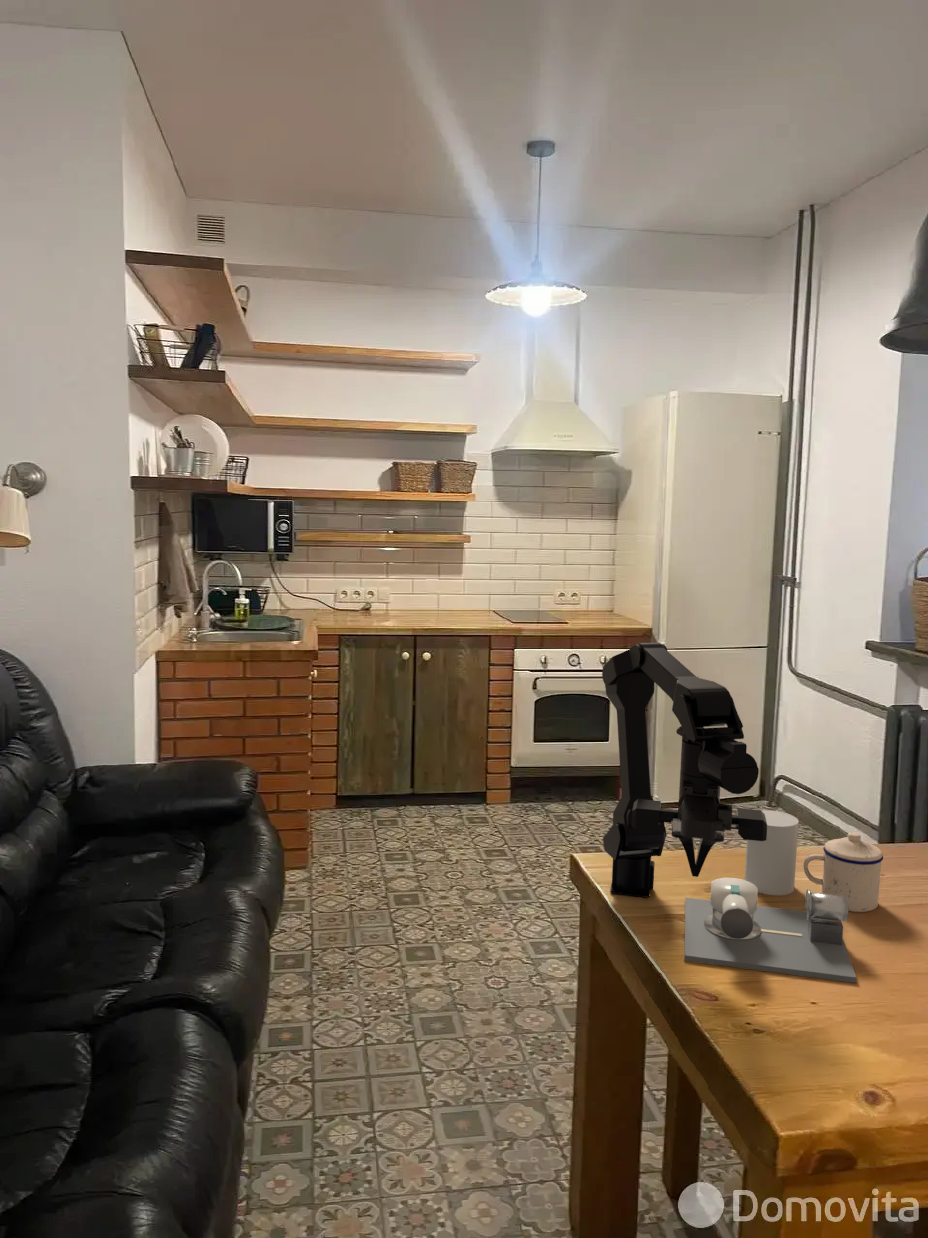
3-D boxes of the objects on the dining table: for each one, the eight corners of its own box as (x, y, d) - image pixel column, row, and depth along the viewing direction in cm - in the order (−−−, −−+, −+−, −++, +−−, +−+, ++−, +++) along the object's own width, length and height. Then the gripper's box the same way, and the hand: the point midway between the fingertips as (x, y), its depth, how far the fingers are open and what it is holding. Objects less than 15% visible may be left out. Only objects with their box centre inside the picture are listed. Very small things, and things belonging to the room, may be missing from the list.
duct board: (684, 960, 132) (684, 954, 132) (685, 902, 151) (685, 896, 151) (856, 983, 127) (856, 976, 127) (834, 919, 146) (834, 914, 146)
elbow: (709, 898, 145) (711, 871, 144) (754, 903, 143) (756, 876, 143) (711, 935, 132) (713, 906, 132) (761, 942, 131) (762, 912, 130)
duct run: (806, 943, 136) (810, 896, 135) (803, 929, 141) (806, 884, 140) (846, 947, 135) (849, 901, 134) (841, 934, 139) (844, 888, 138)
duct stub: (704, 936, 138) (705, 916, 138) (703, 912, 146) (704, 893, 146) (762, 943, 136) (764, 923, 136) (758, 918, 144) (760, 899, 144)
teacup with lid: (876, 894, 156) (881, 828, 154) (882, 917, 147) (887, 847, 146) (800, 884, 159) (805, 819, 158) (802, 906, 151) (807, 837, 149)
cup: (787, 877, 162) (791, 811, 161) (799, 896, 154) (804, 827, 153) (740, 874, 163) (744, 809, 162) (749, 894, 155) (753, 825, 154)
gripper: (631, 783, 127) (626, 890, 129) (773, 795, 123) (766, 907, 125) (636, 761, 138) (631, 860, 140) (766, 772, 134) (760, 874, 136)
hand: (695, 875), depth 135 cm, fingers closed
